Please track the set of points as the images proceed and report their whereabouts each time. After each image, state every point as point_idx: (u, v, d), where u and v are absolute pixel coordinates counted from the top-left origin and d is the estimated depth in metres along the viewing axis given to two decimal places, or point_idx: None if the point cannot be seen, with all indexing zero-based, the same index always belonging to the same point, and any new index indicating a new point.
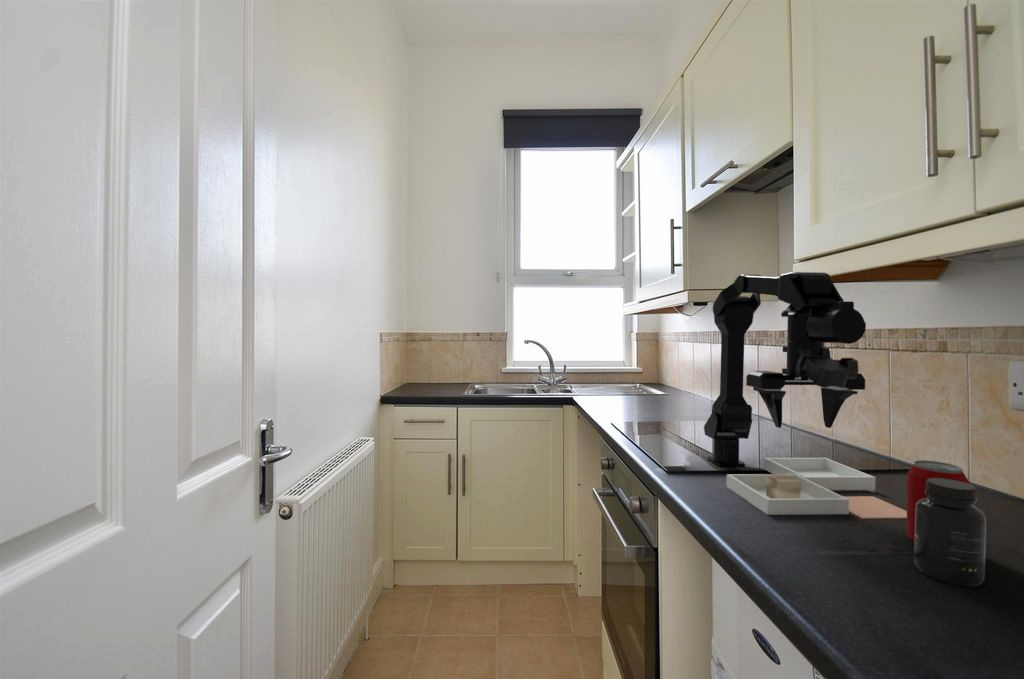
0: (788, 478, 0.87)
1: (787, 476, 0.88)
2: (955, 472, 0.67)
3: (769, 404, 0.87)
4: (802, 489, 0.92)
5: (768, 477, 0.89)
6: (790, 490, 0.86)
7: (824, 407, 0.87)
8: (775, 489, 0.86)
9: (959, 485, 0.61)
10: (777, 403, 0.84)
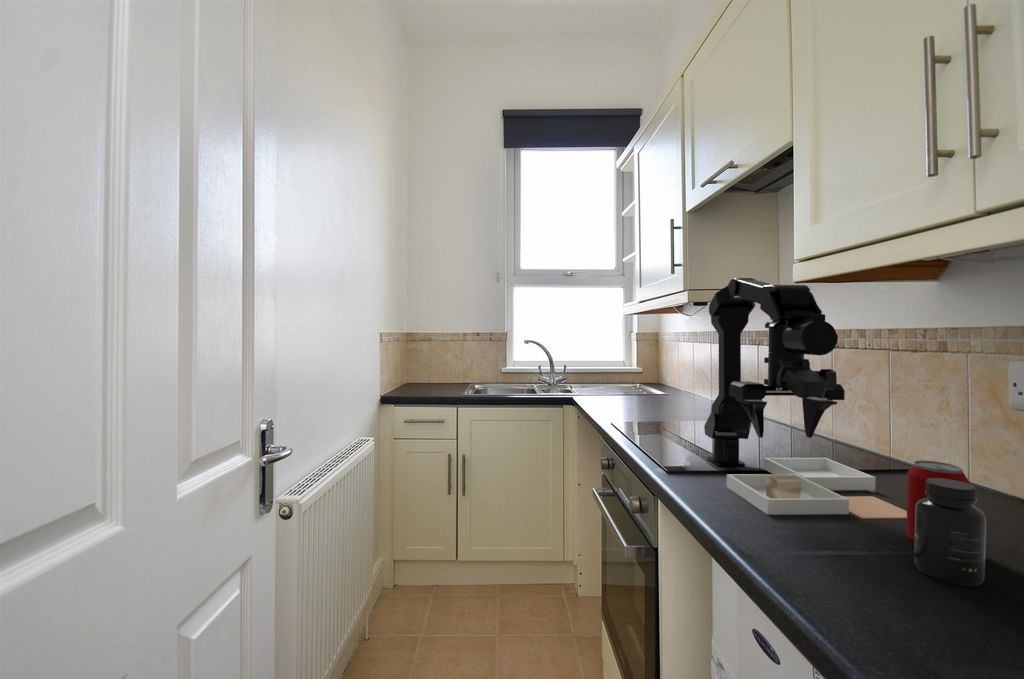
0: (788, 478, 0.87)
1: (787, 476, 0.88)
2: (955, 472, 0.67)
3: (751, 414, 0.88)
4: (802, 489, 0.92)
5: (768, 477, 0.89)
6: (790, 490, 0.86)
7: (805, 417, 0.89)
8: (775, 489, 0.86)
9: (959, 485, 0.61)
10: (759, 413, 0.86)
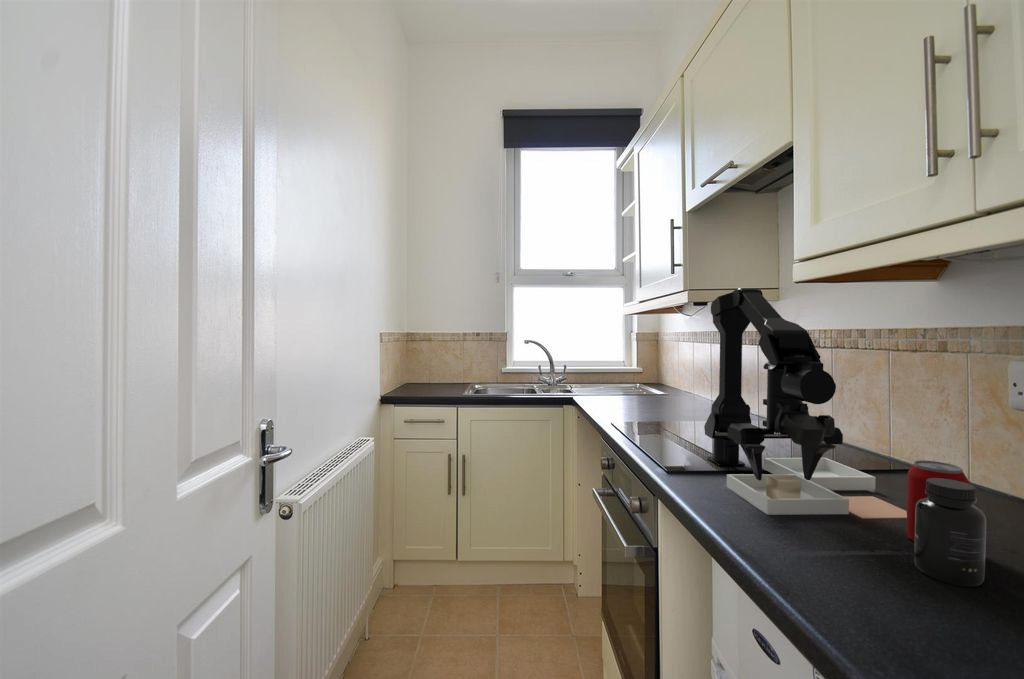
0: (788, 478, 0.87)
1: (787, 476, 0.88)
2: (955, 472, 0.67)
3: (749, 456, 0.88)
4: (802, 489, 0.92)
5: (768, 477, 0.89)
6: (790, 490, 0.86)
7: (803, 459, 0.89)
8: (775, 489, 0.86)
9: (959, 485, 0.61)
10: (757, 457, 0.86)
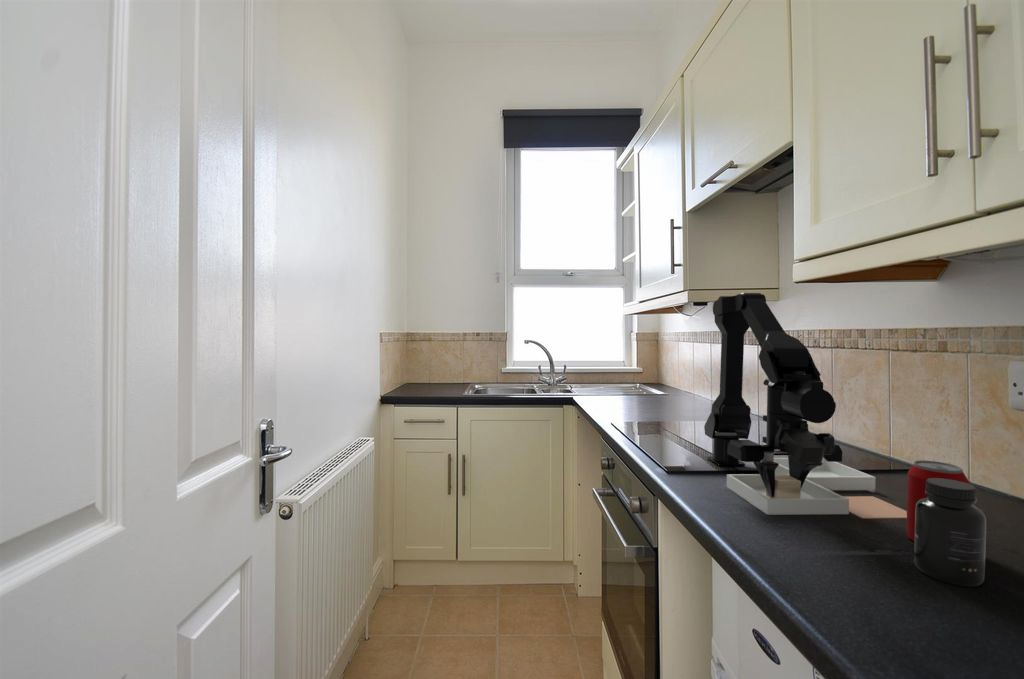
0: (788, 478, 0.87)
1: (787, 476, 0.88)
2: (955, 472, 0.67)
3: (762, 473, 0.88)
4: (802, 489, 0.92)
5: None
6: (790, 490, 0.86)
7: (791, 476, 0.89)
8: (775, 489, 0.86)
9: (959, 485, 0.61)
10: (770, 474, 0.86)
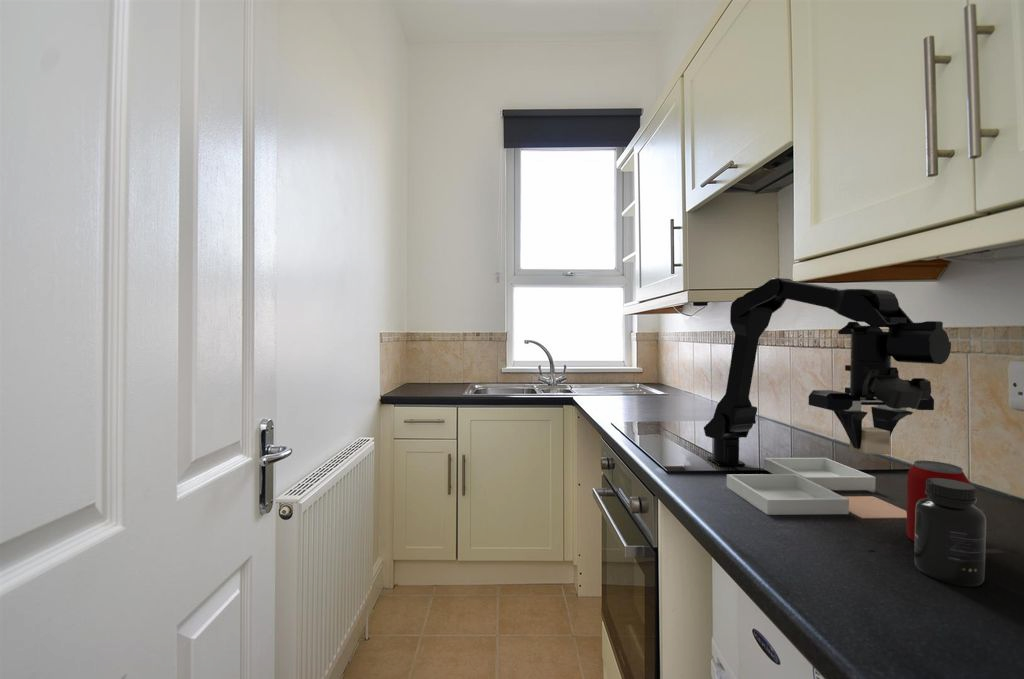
0: (875, 429, 0.83)
1: (873, 428, 0.85)
2: (955, 472, 0.67)
3: (846, 424, 0.85)
4: (802, 489, 0.92)
5: None
6: (878, 441, 0.82)
7: (876, 427, 0.85)
8: (862, 440, 0.83)
9: (959, 485, 0.61)
10: (857, 424, 0.82)
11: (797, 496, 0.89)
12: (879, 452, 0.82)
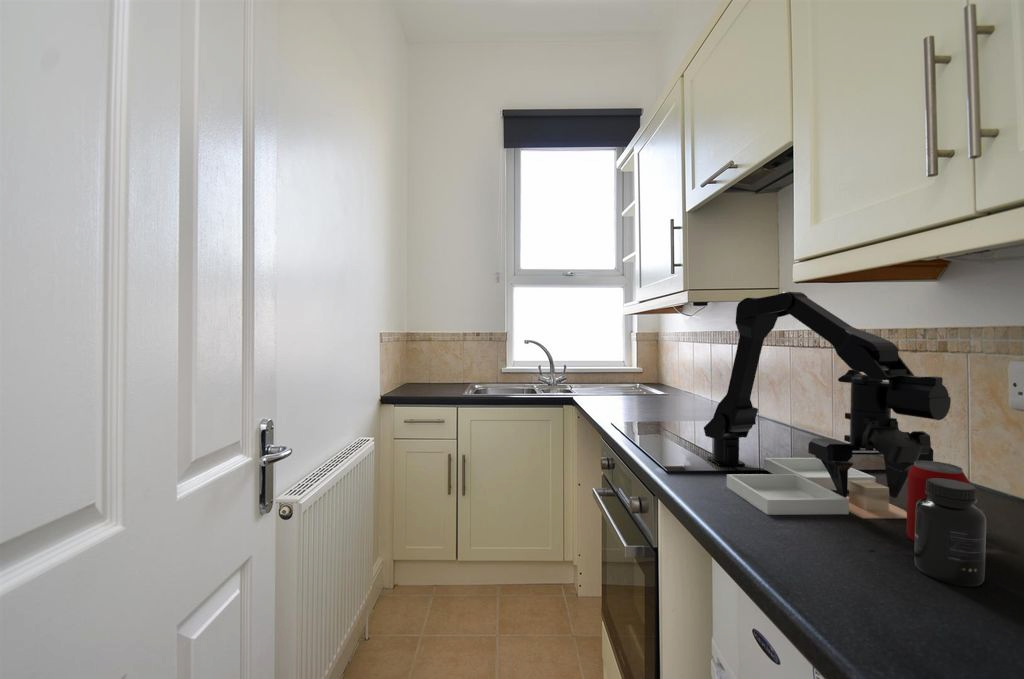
0: (874, 484, 0.84)
1: (872, 482, 0.85)
2: (955, 472, 0.67)
3: (833, 473, 0.85)
4: (802, 489, 0.92)
5: (852, 483, 0.85)
6: (878, 497, 0.82)
7: (888, 476, 0.85)
8: (862, 496, 0.83)
9: (959, 485, 0.61)
10: (843, 474, 0.82)
11: (797, 496, 0.89)
12: (878, 508, 0.82)
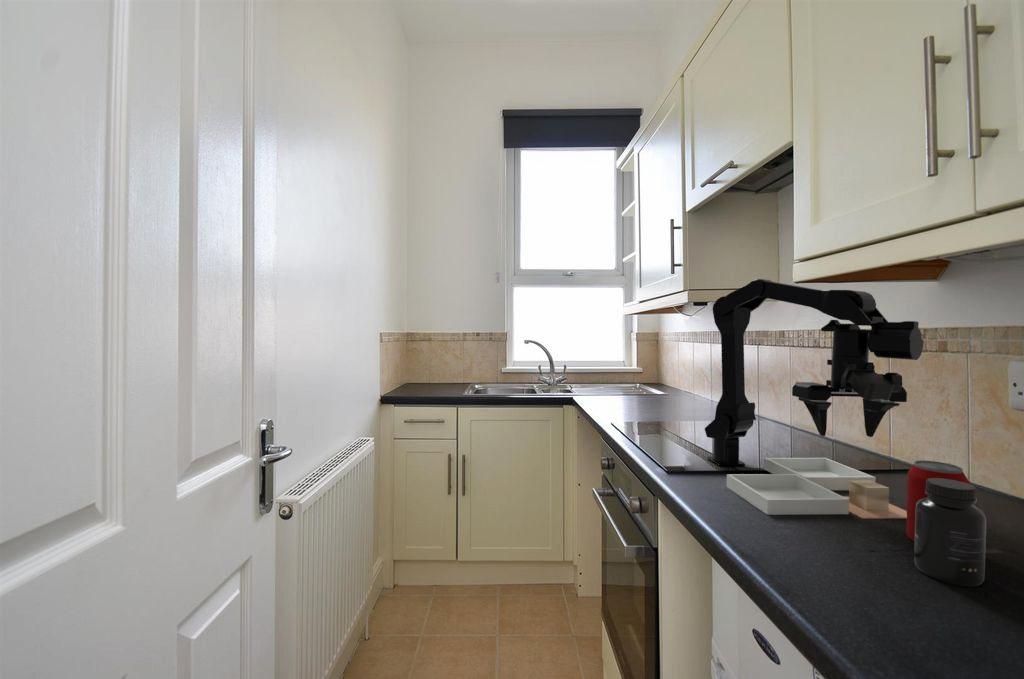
0: (874, 484, 0.84)
1: (872, 482, 0.85)
2: (955, 472, 0.67)
3: (814, 414, 0.92)
4: (802, 489, 0.92)
5: (852, 483, 0.85)
6: (878, 497, 0.82)
7: (866, 417, 0.93)
8: (862, 496, 0.83)
9: (959, 485, 0.61)
10: (822, 413, 0.90)
11: (797, 496, 0.89)
12: (878, 508, 0.82)
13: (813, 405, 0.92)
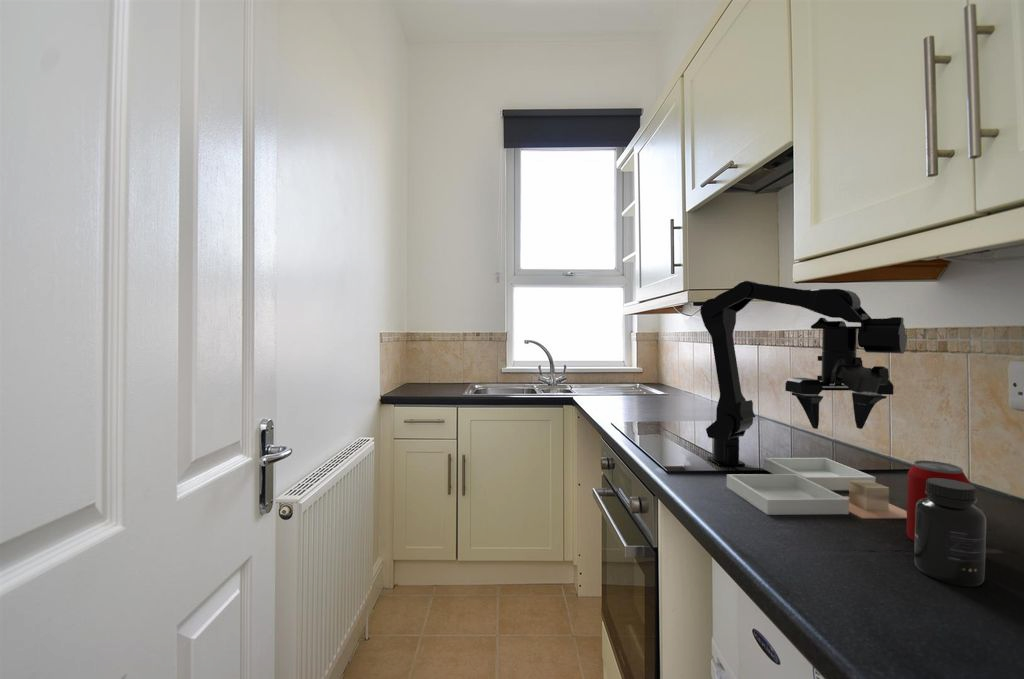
0: (874, 484, 0.84)
1: (872, 482, 0.85)
2: (955, 472, 0.67)
3: (806, 407, 0.97)
4: (802, 489, 0.92)
5: (852, 483, 0.85)
6: (878, 497, 0.82)
7: (855, 410, 0.97)
8: (862, 496, 0.83)
9: (959, 485, 0.61)
10: (815, 407, 0.94)
11: (797, 496, 0.89)
12: (878, 508, 0.82)
13: (805, 399, 0.97)
